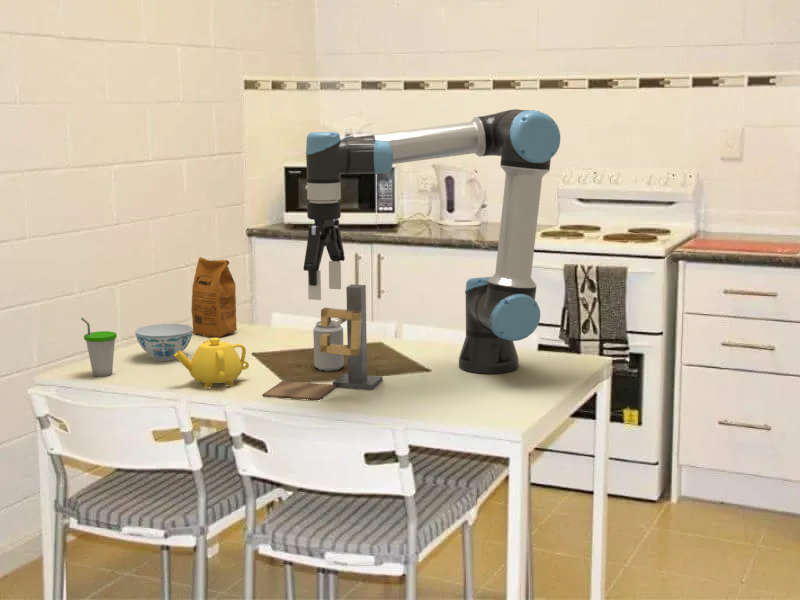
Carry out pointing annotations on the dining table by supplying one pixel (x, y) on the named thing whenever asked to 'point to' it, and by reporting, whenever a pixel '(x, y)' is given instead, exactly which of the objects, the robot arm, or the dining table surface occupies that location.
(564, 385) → the dining table surface
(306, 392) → the walnut board
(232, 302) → the coffee package
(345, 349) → the c link
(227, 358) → the teapot
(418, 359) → the dining table surface
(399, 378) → the dining table surface
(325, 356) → the can
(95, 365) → the cup
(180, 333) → the chinaware
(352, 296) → the stand
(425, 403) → the dining table surface
